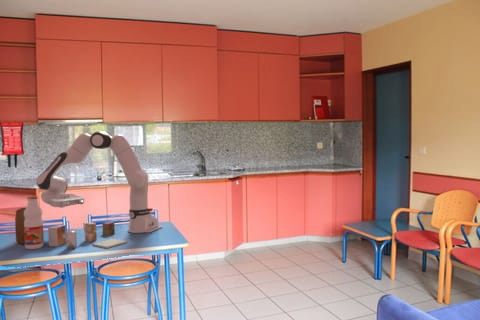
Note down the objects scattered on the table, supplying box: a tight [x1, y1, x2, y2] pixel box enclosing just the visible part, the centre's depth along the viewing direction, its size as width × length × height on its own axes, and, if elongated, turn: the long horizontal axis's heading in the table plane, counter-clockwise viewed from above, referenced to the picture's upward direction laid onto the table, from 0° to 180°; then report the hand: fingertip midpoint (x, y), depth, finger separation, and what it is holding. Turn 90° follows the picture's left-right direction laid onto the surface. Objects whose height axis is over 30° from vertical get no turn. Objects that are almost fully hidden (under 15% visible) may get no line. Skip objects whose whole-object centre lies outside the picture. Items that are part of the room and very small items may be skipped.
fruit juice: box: [24, 195, 45, 250], centre depth 228 cm, size 9×9×28 cm
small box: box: [47, 224, 67, 247], centre depth 233 cm, size 8×6×10 cm
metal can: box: [66, 230, 78, 250], centre depth 226 cm, size 5×5×9 cm
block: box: [14, 207, 26, 246], centre depth 238 cm, size 11×8×20 cm
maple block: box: [84, 222, 98, 243], centre depth 242 cm, size 4×4×10 cm
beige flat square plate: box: [92, 238, 128, 250], centre depth 233 cm, size 14×12×1 cm
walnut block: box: [102, 221, 116, 236], centre depth 258 cm, size 5×5×7 cm
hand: (75, 203), depth 248 cm, fingers open, 8 cm apart
